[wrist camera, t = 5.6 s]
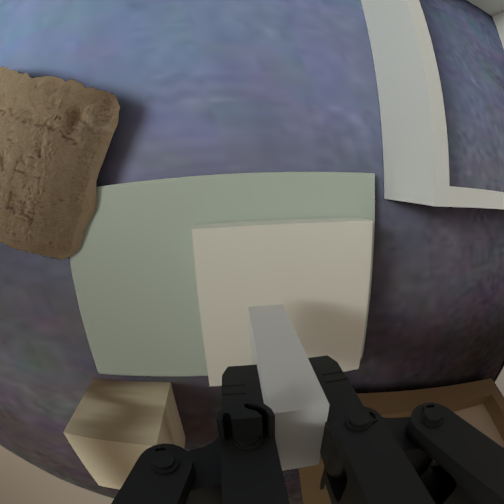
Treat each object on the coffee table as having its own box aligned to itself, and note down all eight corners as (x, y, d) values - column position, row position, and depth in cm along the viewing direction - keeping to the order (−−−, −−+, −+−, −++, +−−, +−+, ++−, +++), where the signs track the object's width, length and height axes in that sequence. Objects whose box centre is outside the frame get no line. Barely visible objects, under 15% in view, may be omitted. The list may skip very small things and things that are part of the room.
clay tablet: (131, 99, 13) (112, 84, 11) (73, 268, 15) (48, 281, 12) (-8, 70, 12) (-29, 62, 9) (-46, 194, 13) (-68, 196, 11)
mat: (101, 368, 17) (98, 373, 17) (66, 192, 15) (61, 192, 14) (358, 353, 19) (362, 357, 18) (369, 173, 16) (374, 173, 15)
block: (116, 432, 19) (98, 485, 13) (93, 377, 18) (63, 432, 12) (185, 437, 20) (179, 496, 14) (170, 381, 18) (156, 445, 12)
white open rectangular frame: (384, 198, 16) (434, 206, 12) (344, -54, 12) (366, -89, 7) (527, 206, 18) (565, 214, 13) (494, 12, 13) (523, 0, 8)
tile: (209, 386, 16) (358, 368, 16) (191, 229, 14) (372, 220, 14) (210, 369, 17) (348, 354, 18) (195, 224, 15) (358, 216, 16)
